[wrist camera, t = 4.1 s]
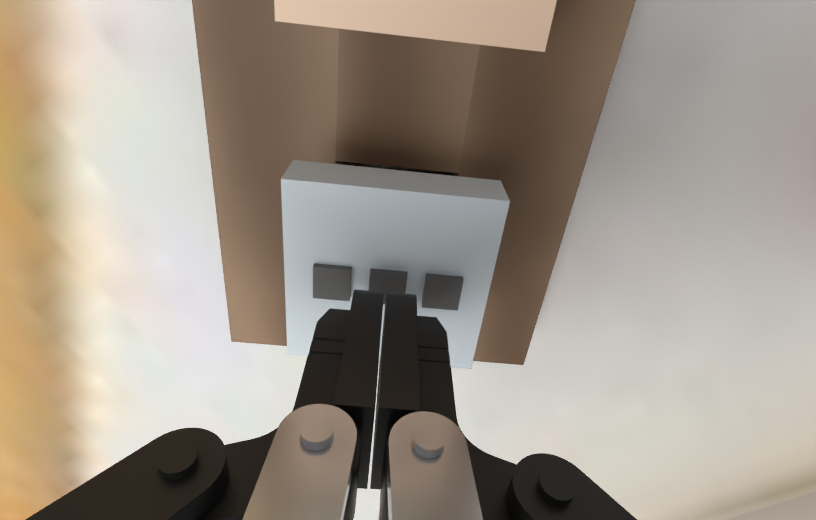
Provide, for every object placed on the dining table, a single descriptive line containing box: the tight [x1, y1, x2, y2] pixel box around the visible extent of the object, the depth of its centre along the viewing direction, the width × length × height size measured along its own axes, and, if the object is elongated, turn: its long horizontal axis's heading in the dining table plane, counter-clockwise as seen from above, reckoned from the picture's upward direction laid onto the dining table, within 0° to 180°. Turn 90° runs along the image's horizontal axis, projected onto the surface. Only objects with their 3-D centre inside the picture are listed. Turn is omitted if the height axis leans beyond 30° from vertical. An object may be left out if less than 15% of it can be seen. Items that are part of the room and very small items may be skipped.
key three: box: [281, 160, 510, 369], centre depth 14 cm, size 6×6×4 cm
